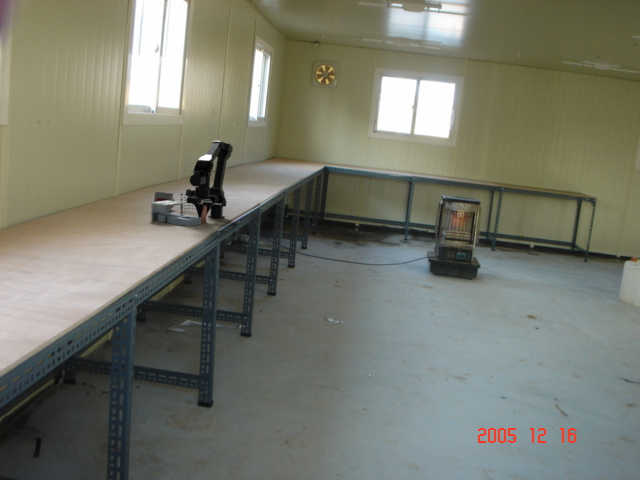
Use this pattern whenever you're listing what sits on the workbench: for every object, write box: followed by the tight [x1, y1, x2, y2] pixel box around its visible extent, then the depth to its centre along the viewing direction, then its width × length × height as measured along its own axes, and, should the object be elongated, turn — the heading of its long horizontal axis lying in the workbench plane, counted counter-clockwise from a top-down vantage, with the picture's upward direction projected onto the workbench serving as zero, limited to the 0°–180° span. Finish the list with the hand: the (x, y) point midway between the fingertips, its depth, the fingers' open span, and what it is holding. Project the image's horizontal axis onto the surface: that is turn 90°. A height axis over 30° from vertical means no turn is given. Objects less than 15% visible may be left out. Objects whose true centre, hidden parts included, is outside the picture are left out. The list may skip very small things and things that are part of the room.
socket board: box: [157, 212, 202, 227], centre depth 283 cm, size 10×18×3 cm, turn 64°
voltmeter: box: [153, 191, 196, 213], centre depth 317 cm, size 27×11×10 cm, turn 110°
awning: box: [150, 200, 184, 224], centre depth 285 cm, size 13×9×9 cm
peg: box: [200, 206, 208, 224], centre depth 287 cm, size 4×4×8 cm
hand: (202, 216), depth 287 cm, fingers closed on peg, 4 cm apart
